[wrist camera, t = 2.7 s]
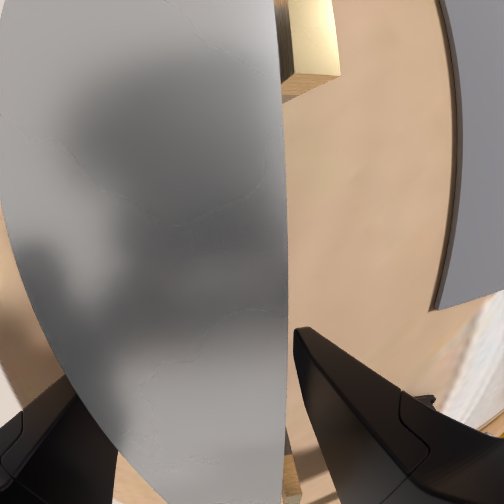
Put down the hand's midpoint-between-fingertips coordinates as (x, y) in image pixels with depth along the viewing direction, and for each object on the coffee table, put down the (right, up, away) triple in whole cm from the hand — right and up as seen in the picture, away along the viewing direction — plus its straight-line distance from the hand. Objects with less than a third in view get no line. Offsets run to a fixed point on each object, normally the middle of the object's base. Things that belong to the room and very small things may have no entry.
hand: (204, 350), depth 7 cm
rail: (0, 0, 0) cm, 0 cm away
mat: (+17, +11, +2) cm, 20 cm away
